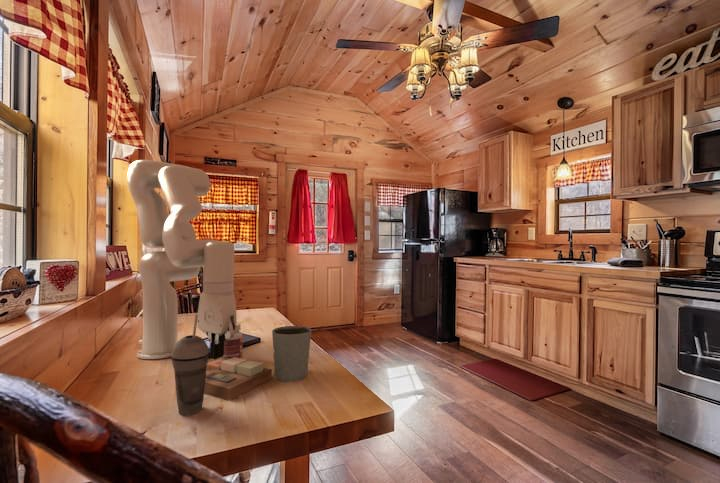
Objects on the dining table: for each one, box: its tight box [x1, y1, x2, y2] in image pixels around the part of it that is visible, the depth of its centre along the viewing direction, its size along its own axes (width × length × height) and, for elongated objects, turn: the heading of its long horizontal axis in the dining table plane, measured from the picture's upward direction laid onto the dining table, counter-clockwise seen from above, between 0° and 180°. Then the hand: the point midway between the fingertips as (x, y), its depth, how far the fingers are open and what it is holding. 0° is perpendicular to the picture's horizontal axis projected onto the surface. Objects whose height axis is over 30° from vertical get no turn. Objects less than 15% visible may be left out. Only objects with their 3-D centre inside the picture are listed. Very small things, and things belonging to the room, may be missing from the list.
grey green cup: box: [271, 325, 313, 382], centre depth 98 cm, size 10×10×12 cm
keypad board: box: [204, 358, 273, 401], centre depth 93 cm, size 18×14×3 cm
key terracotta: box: [206, 358, 225, 370], centre depth 98 cm, size 4×4×2 cm
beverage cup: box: [170, 314, 210, 416], centre depth 78 cm, size 7×7×20 cm
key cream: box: [221, 357, 248, 373], centre depth 96 cm, size 4×4×2 cm
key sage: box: [237, 360, 264, 377], centre depth 93 cm, size 4×4×2 cm
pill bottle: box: [219, 321, 243, 360], centre depth 107 cm, size 6×6×11 cm
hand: (216, 357), depth 99 cm, fingers closed
